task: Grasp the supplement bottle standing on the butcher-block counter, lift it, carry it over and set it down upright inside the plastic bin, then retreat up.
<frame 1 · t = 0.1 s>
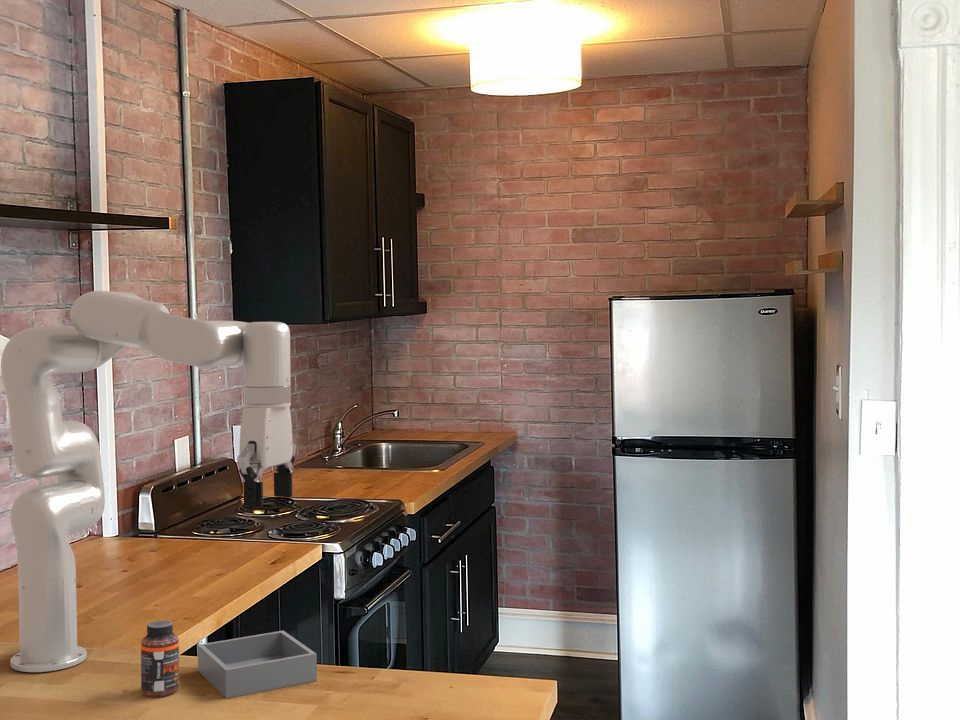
hand: (268, 501, 169), 31 cm above the worktop, tool pointing down, fingers open, 9 cm apart
bin: (256, 675, 177), on the worktop
supplement bottle: (160, 693, 169), on the worktop
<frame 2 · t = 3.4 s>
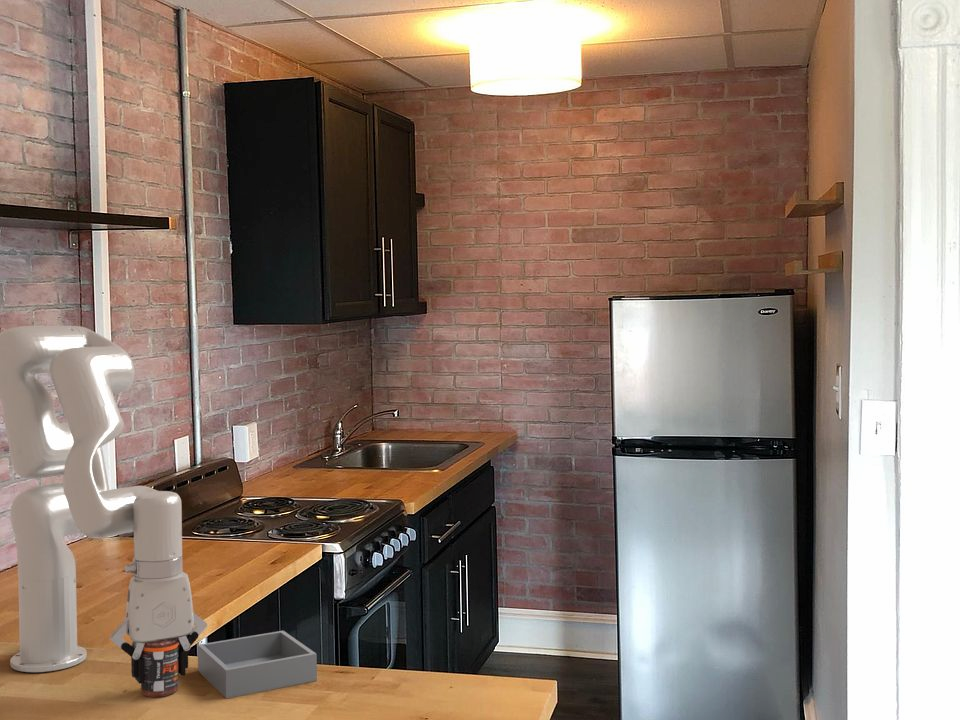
hand: (160, 676, 169), 3 cm above the worktop, tool pointing down, fingers closed on supplement bottle, 6 cm apart
supplement bottle: (160, 693, 169), on the worktop, touching gripper
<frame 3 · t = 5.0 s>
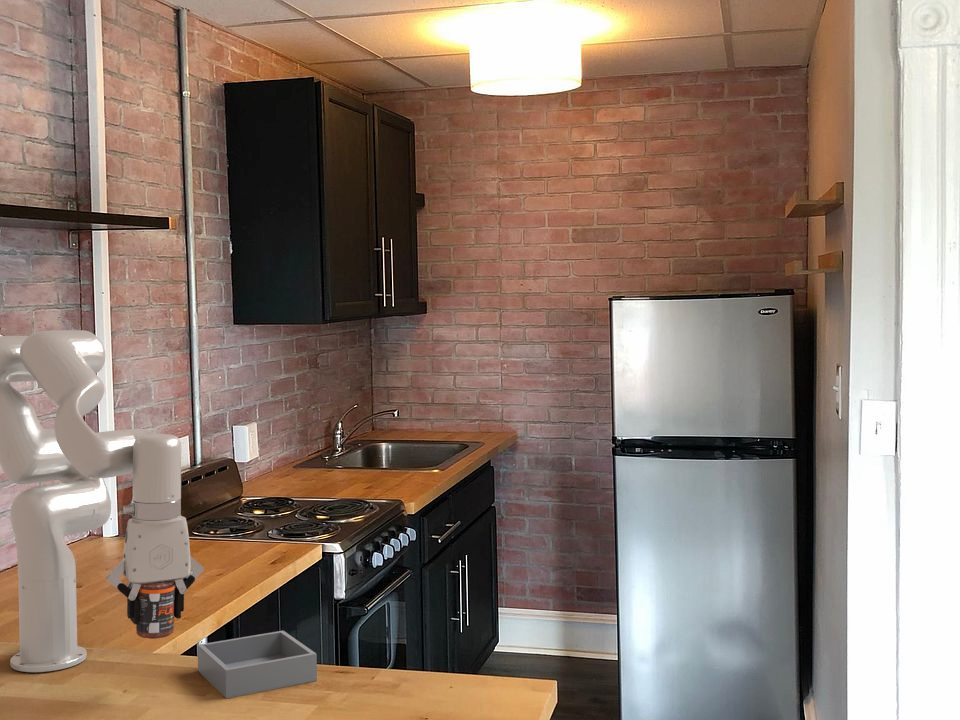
hand: (155, 618, 169), 12 cm above the worktop, tool pointing down, fingers closed on supplement bottle, 6 cm apart
supplement bottle: (155, 635, 169), point 9 cm above the worktop, touching gripper
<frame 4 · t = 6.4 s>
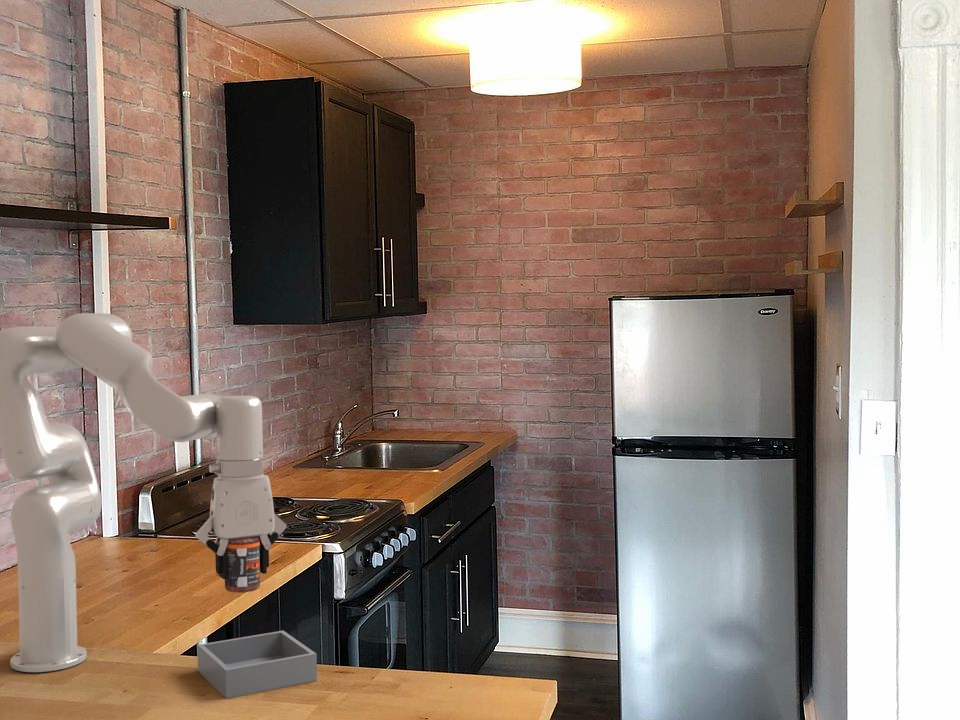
hand: (242, 573, 175), 18 cm above the worktop, tool pointing down, fingers closed on supplement bottle, 6 cm apart
supplement bottle: (242, 590, 175), point 15 cm above the worktop, touching gripper
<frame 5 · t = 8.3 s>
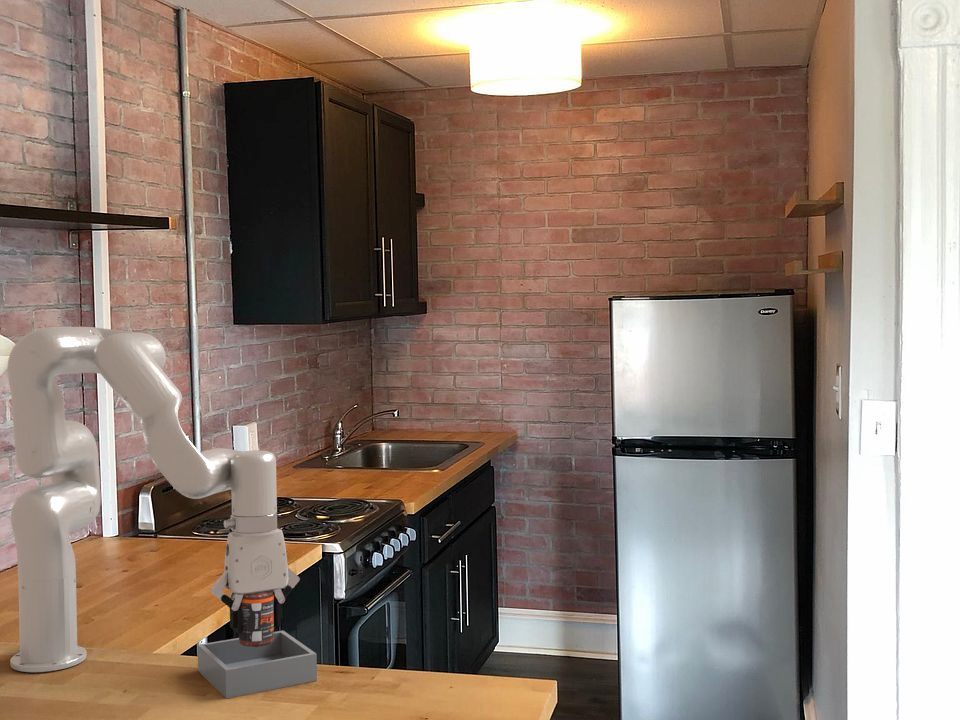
hand: (256, 627, 177), 8 cm above the worktop, tool pointing down, fingers closed on supplement bottle, 6 cm apart
supplement bottle: (256, 643, 177), point 6 cm above the worktop, touching gripper
when the fingers open (5 cm above the worktop, at t = 9.5 s): supplement bottle drops 2 cm, resting on bin.
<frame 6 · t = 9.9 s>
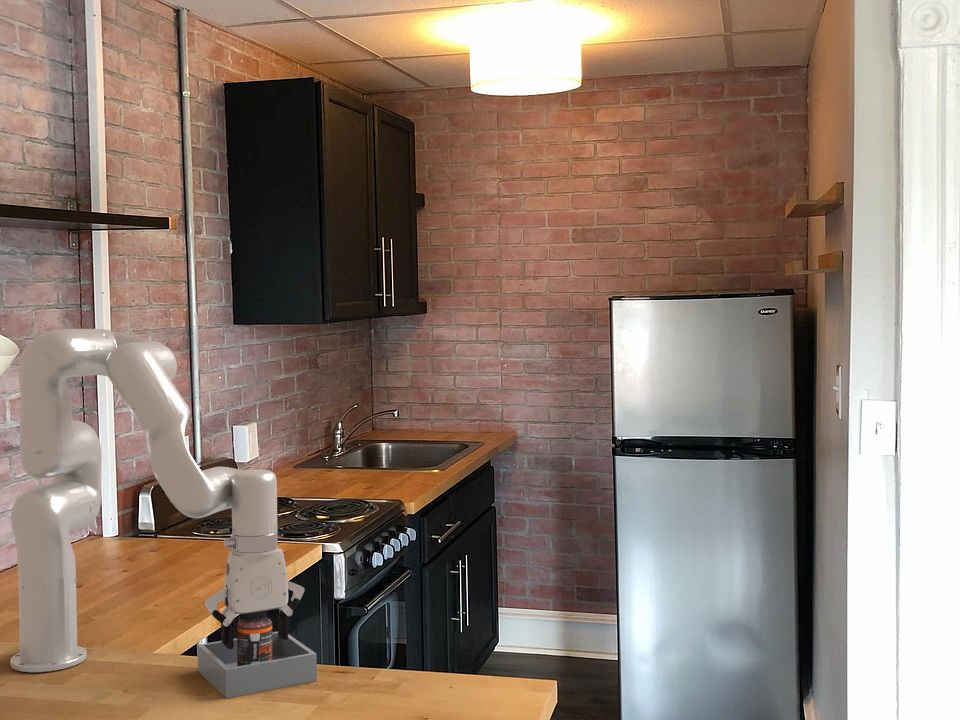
hand: (256, 642, 177), 6 cm above the worktop, tool pointing down, fingers open, 9 cm apart
supplement bottle: (255, 673, 177), resting on bin
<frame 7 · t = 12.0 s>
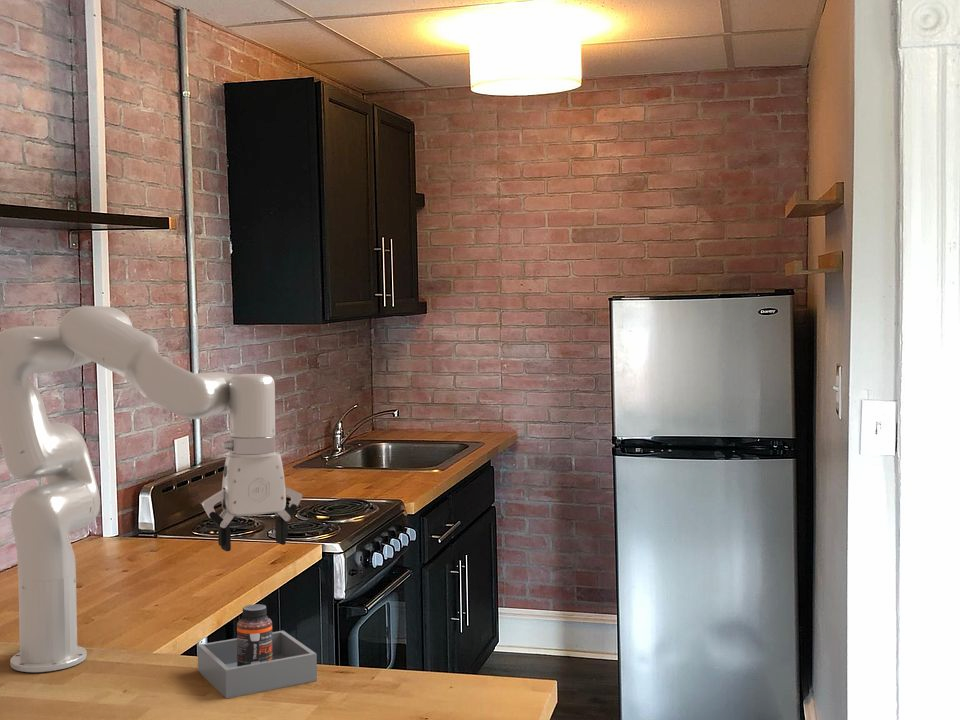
hand: (253, 546, 176), 22 cm above the worktop, tool pointing down, fingers open, 9 cm apart
nothing on the worktop moved.
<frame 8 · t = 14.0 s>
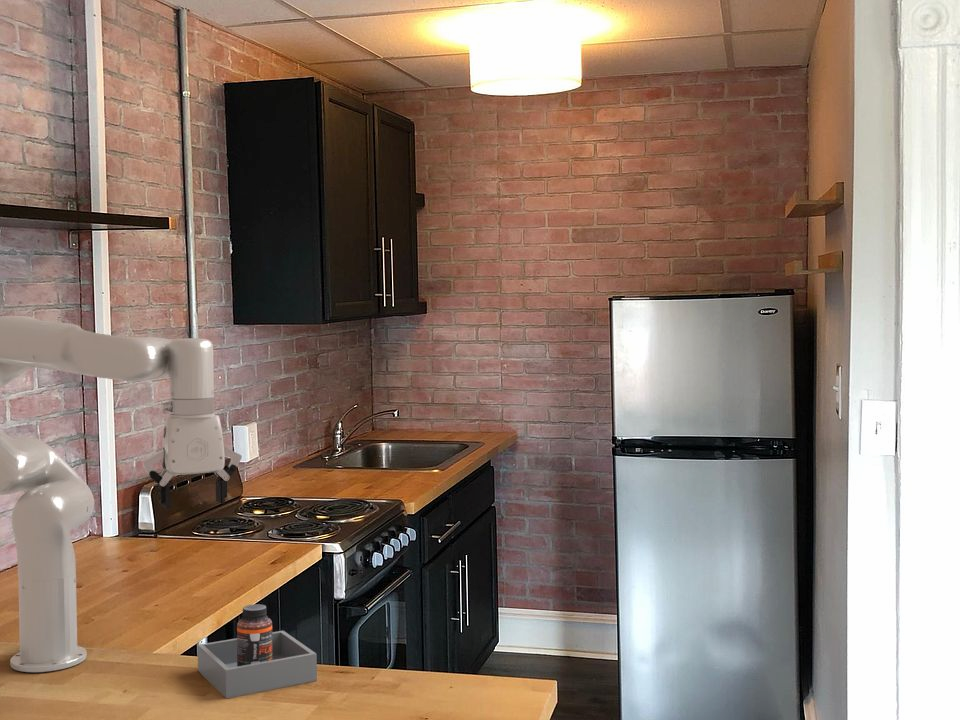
hand: (193, 505, 182), 28 cm above the worktop, tool pointing down, fingers open, 9 cm apart
nothing on the worktop moved.
at the end: supplement bottle inside the target area on the bin (0.3 cm from its centre), point 0.4 cm above the bin's base; supplement bottle tilted 0°; the gripper is holding nothing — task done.
